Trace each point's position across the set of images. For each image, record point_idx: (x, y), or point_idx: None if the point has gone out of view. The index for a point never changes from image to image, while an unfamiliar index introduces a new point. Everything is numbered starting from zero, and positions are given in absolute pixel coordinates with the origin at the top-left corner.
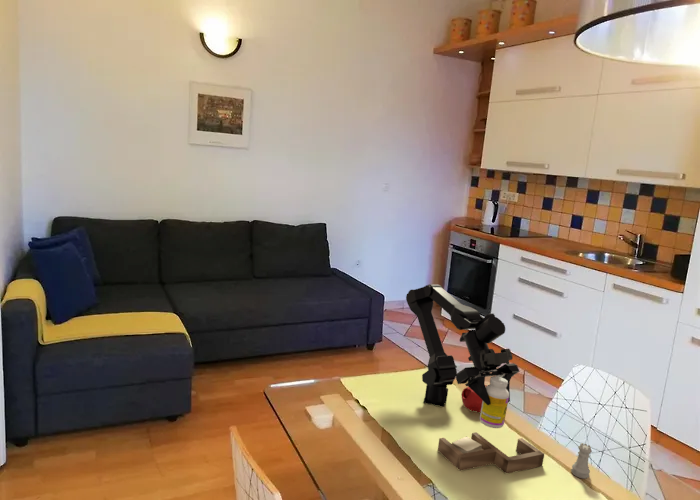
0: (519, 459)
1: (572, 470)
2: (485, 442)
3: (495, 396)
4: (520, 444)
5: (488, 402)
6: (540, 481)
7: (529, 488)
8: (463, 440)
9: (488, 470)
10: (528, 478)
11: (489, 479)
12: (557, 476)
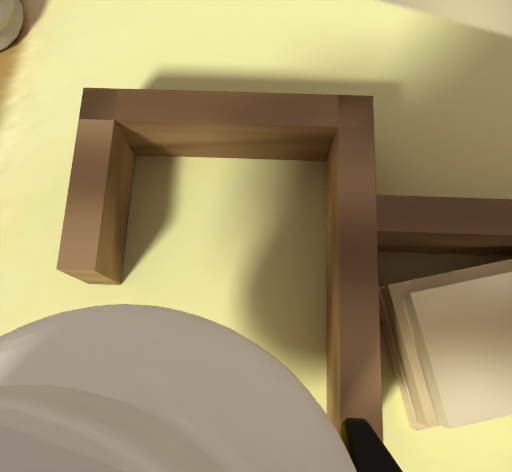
0: (284, 95)
1: (6, 35)
2: (371, 304)
3: (311, 395)
4: (106, 247)
5: (378, 440)
6: (231, 43)
7: (328, 23)
8: (509, 386)
9: (429, 184)
10: (270, 76)
11: (475, 126)
12: (112, 45)
